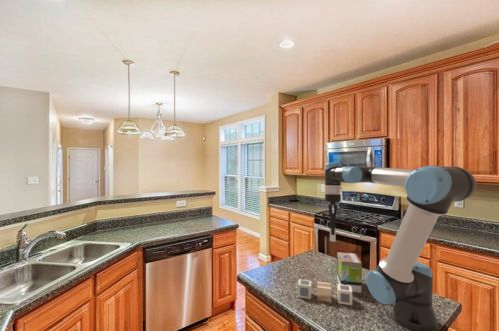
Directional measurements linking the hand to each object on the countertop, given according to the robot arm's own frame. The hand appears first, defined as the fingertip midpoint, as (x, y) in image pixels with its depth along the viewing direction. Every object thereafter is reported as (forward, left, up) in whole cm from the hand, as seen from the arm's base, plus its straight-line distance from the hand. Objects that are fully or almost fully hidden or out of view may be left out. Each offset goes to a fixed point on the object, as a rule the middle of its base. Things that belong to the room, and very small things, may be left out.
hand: (332, 240), depth 126 cm
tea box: (+3, -11, -25) cm, 27 cm away
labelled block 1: (-2, +16, -25) cm, 29 cm away
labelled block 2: (-10, 0, -25) cm, 27 cm away
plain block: (-6, +8, -25) cm, 26 cm away
